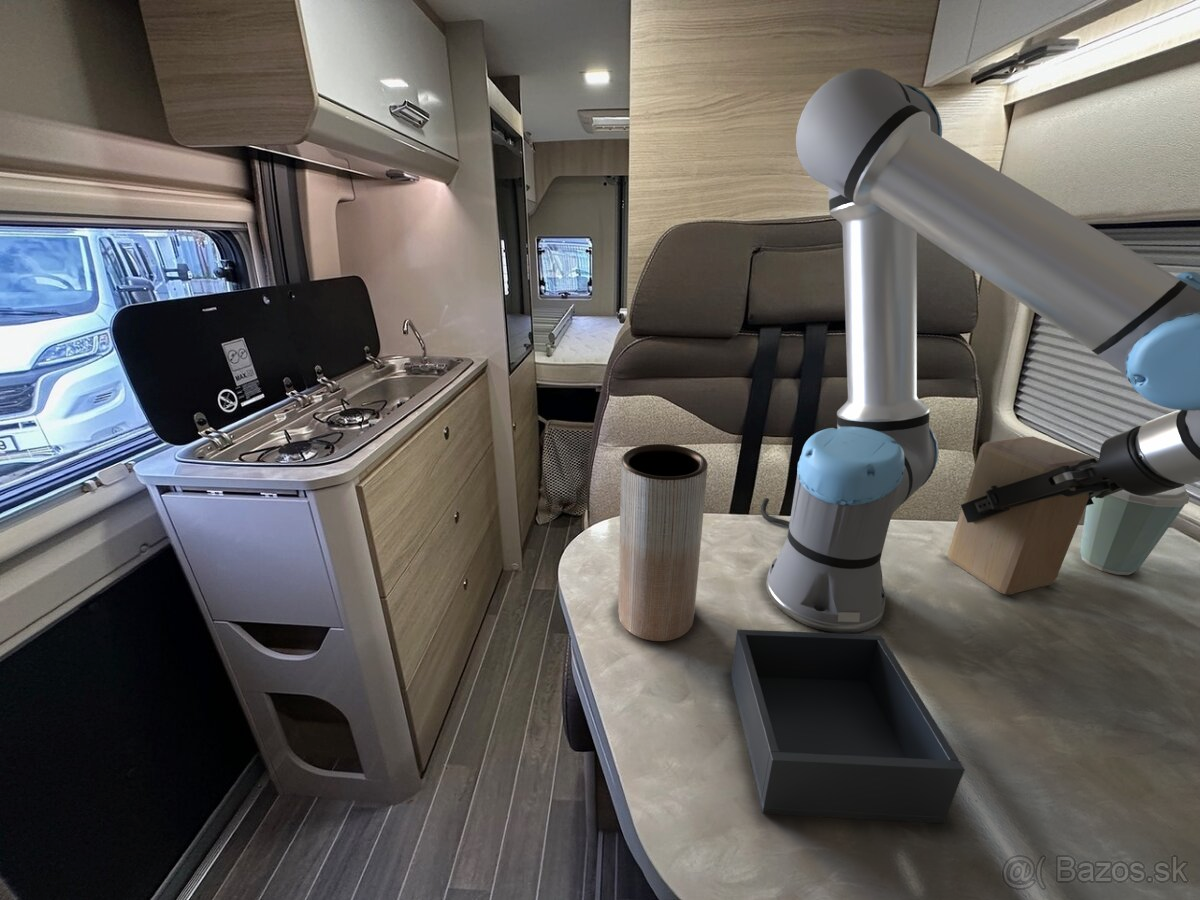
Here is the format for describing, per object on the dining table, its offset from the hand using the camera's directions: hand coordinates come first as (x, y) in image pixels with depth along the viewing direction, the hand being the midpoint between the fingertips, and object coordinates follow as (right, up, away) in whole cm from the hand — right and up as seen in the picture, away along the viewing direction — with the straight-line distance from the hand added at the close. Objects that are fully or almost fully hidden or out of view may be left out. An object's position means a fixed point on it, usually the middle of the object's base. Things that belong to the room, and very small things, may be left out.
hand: (998, 510), depth 79 cm
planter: (-52, -13, -8) cm, 54 cm away
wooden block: (+1, -10, +1) cm, 10 cm away
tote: (-37, -20, -25) cm, 49 cm away
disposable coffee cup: (+19, -9, +3) cm, 21 cm away
